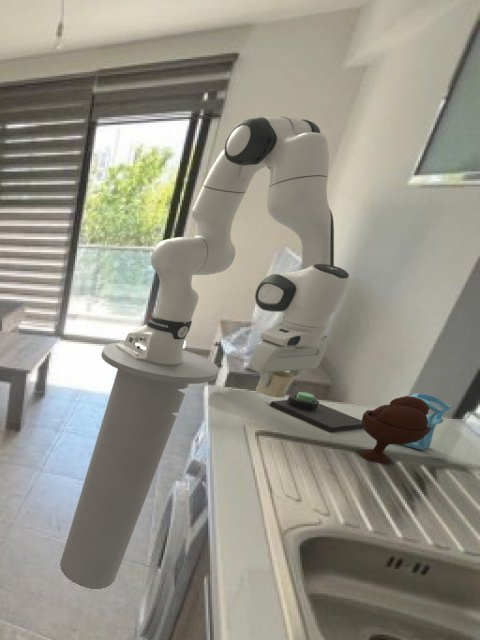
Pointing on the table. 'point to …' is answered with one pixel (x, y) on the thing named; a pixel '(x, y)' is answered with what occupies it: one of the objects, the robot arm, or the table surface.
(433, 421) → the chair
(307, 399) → the tare button
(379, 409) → the ice cream bowl
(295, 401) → the scale
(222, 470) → the table surface
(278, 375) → the cream bowl
